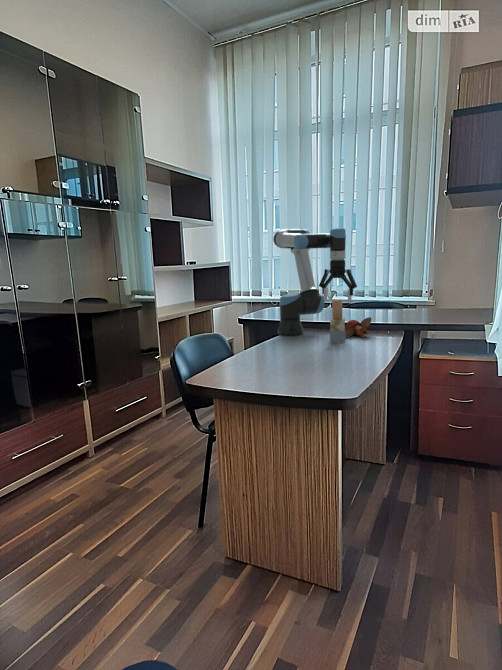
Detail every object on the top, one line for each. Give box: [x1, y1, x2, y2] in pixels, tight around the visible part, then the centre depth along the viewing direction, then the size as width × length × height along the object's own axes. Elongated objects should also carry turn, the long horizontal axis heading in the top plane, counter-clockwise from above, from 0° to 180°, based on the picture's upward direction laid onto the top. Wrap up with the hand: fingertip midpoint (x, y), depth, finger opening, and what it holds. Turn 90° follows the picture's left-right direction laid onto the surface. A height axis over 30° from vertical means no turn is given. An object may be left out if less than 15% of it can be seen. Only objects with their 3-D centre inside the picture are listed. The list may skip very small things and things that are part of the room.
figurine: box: [345, 316, 372, 338], centre depth 225 cm, size 20×9×15 cm
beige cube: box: [329, 317, 346, 332], centre depth 212 cm, size 6×6×6 cm
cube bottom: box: [329, 329, 347, 344], centre depth 213 cm, size 6×6×6 cm
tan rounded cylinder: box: [331, 299, 343, 320], centre depth 210 cm, size 5×5×10 cm
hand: (337, 301), depth 210 cm, fingers open, 13 cm apart
